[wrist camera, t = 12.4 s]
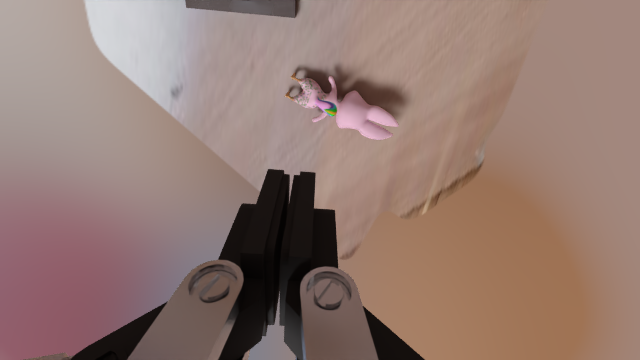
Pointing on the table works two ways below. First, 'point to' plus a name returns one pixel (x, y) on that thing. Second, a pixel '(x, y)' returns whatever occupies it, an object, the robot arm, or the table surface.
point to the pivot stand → (248, 6)
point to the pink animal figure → (345, 109)
